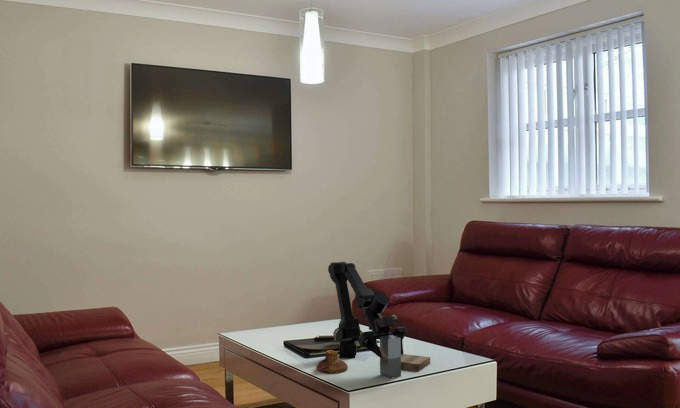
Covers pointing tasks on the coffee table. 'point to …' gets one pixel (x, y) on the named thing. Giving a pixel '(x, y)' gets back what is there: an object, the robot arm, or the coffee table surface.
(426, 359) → the stand
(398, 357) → the block
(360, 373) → the coffee table surface
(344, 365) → the bell
